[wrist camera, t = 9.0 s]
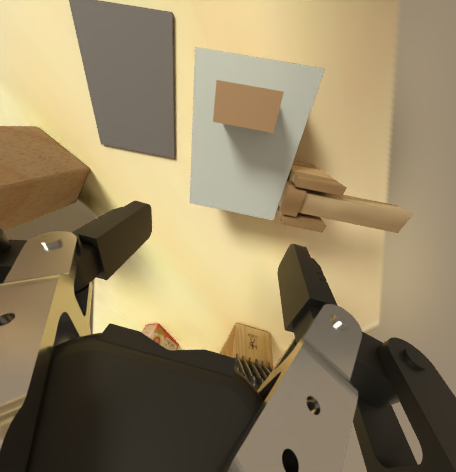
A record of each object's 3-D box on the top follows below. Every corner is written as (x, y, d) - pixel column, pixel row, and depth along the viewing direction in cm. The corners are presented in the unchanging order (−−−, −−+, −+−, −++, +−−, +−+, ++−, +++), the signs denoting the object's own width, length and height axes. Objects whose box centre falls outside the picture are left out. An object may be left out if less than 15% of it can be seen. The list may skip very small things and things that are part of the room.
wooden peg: (286, 180, 20) (290, 188, 17) (398, 202, 19) (419, 214, 16) (278, 203, 21) (281, 213, 19) (382, 224, 21) (399, 238, 18)
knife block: (285, 314, 46) (320, 552, 20) (245, 365, 65) (236, 520, 39) (245, 302, 46) (229, 526, 20) (217, 356, 65) (189, 507, 39)
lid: (202, 55, 17) (173, 19, 11) (317, 75, 16) (347, 47, 11) (194, 197, 25) (176, 217, 19) (272, 213, 25) (276, 238, 19)
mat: (71, -3, 21) (68, -5, 21) (173, 14, 20) (171, 12, 20) (102, 143, 30) (101, 144, 29) (175, 158, 29) (174, 158, 29)
